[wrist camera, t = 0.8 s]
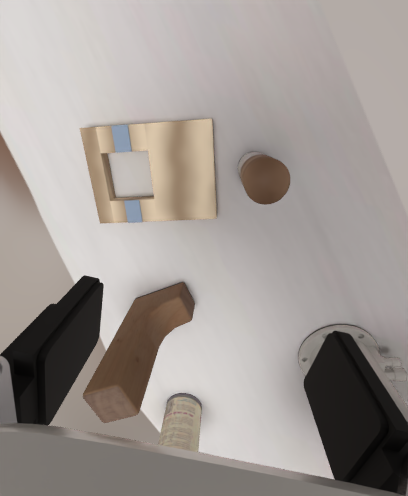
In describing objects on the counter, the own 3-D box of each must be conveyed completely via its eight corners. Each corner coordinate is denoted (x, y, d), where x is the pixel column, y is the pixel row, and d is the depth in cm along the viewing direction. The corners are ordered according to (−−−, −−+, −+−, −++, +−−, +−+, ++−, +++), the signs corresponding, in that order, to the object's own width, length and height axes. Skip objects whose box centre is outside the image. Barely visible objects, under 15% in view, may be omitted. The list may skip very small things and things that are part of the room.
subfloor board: (212, 119, 33) (211, 118, 31) (216, 214, 38) (216, 219, 36) (87, 128, 34) (78, 128, 32) (105, 219, 39) (99, 223, 37)
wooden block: (184, 280, 42) (158, 374, 25) (195, 303, 43) (178, 406, 27) (134, 298, 44) (79, 396, 27) (147, 319, 45) (102, 425, 29)
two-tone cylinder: (269, 150, 34) (291, 156, 23) (268, 182, 36) (288, 203, 24) (237, 152, 34) (244, 159, 23) (237, 184, 36) (244, 205, 25)
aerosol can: (166, 415, 54) (136, 560, 35) (167, 391, 51) (135, 533, 33) (200, 419, 54) (188, 567, 35) (203, 395, 51) (191, 541, 33)
